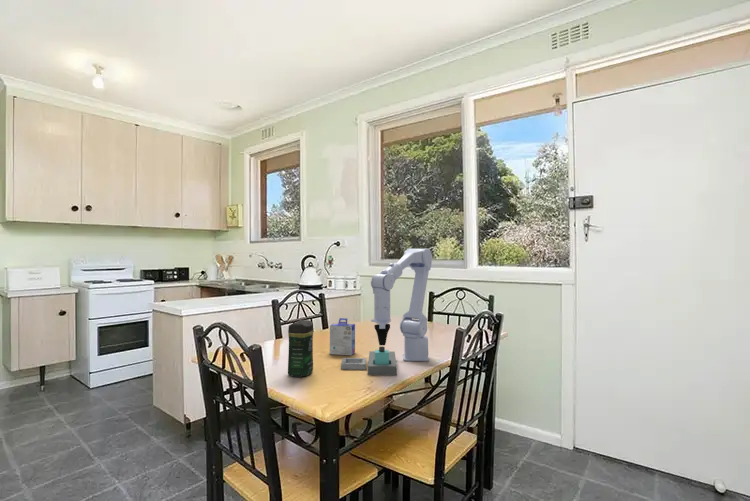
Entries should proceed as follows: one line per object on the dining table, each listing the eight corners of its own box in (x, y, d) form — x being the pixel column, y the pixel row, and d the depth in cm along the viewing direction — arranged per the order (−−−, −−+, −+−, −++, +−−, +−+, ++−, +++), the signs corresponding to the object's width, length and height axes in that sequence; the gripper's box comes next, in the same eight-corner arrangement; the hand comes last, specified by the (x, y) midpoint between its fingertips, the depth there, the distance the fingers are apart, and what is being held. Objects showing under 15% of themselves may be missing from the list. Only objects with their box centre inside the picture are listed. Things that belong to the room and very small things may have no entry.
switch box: (394, 359, 159) (394, 351, 159) (396, 375, 139) (396, 365, 139) (369, 358, 159) (369, 350, 159) (367, 374, 139) (367, 365, 139)
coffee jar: (307, 378, 135) (307, 323, 135) (284, 377, 137) (284, 322, 137) (316, 370, 145) (316, 318, 145) (295, 368, 146) (295, 318, 146)
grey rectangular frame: (366, 363, 154) (366, 358, 153) (365, 369, 146) (365, 364, 145) (342, 363, 154) (342, 357, 154) (340, 369, 146) (340, 363, 146)
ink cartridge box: (355, 352, 169) (355, 318, 169) (352, 356, 164) (352, 320, 164) (333, 351, 171) (333, 317, 171) (329, 354, 166) (329, 319, 166)
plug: (388, 369, 146) (388, 345, 146) (388, 372, 142) (388, 348, 142) (374, 369, 146) (374, 345, 146) (374, 372, 142) (374, 348, 142)
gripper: (371, 304, 152) (371, 340, 152) (370, 310, 137) (370, 350, 137) (390, 304, 151) (390, 340, 152) (391, 310, 137) (391, 350, 137)
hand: (382, 344), depth 144 cm, fingers closed
